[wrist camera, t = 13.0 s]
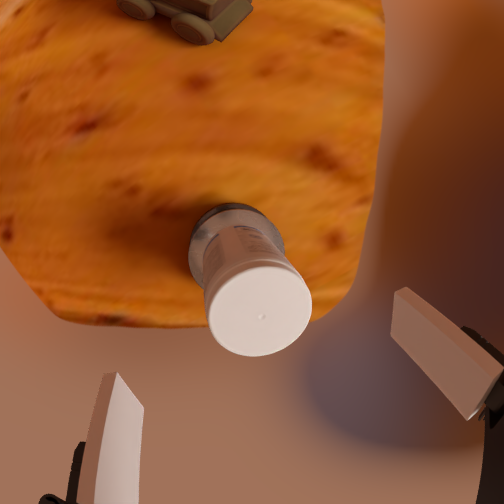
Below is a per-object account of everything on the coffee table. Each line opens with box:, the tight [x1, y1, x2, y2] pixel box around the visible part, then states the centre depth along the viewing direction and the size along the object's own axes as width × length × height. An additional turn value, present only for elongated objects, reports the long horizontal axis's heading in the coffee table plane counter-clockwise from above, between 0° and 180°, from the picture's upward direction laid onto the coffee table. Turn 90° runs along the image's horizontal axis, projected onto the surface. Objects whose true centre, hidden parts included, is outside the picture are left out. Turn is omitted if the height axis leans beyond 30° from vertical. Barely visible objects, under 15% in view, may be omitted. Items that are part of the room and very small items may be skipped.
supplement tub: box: [203, 224, 312, 356], centre depth 30 cm, size 10×10×15 cm
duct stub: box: [188, 203, 285, 290], centre depth 39 cm, size 13×13×5 cm
